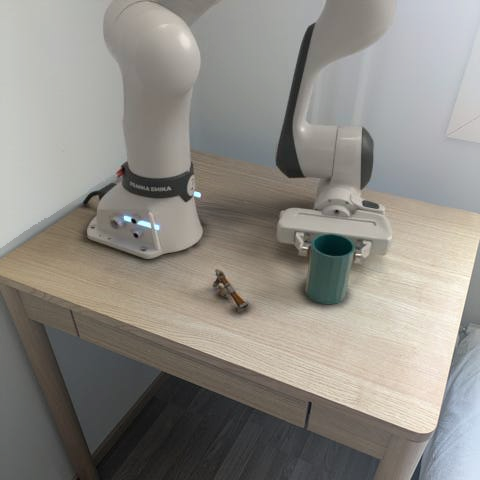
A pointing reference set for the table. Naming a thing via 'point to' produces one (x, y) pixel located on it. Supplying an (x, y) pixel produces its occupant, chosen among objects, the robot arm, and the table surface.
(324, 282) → the cup
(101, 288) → the table surface
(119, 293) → the table surface
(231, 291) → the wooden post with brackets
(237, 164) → the table surface
